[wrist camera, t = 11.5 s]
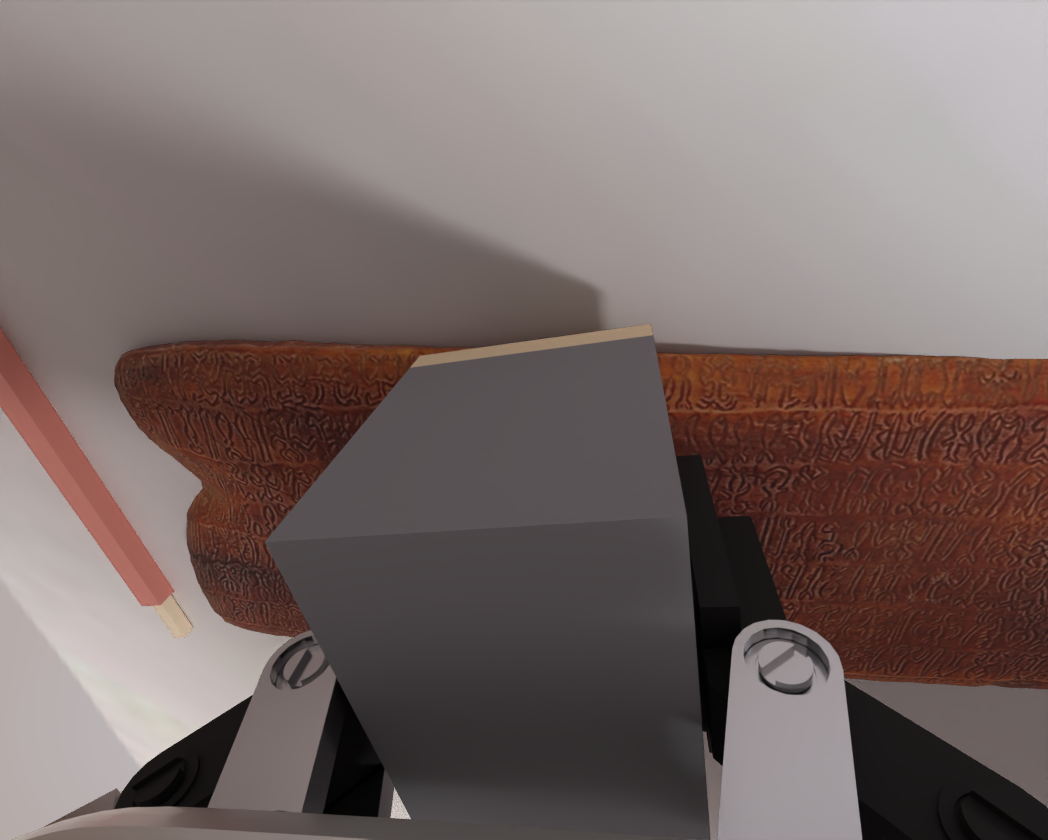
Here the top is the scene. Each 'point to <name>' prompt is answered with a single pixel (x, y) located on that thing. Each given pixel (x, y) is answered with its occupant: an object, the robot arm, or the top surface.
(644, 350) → the sanding block
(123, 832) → the robot arm
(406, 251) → the top surface
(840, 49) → the top surface
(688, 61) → the top surface
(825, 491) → the wooden tablet
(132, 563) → the carpenter pencil
